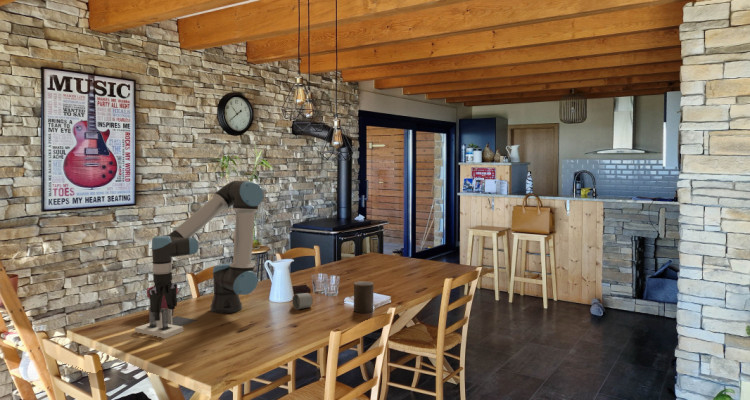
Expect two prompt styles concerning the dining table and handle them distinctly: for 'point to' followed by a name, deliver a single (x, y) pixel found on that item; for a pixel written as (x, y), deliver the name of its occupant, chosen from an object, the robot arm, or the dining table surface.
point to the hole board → (159, 330)
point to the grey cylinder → (302, 300)
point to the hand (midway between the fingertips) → (164, 325)
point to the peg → (164, 319)
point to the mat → (181, 321)
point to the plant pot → (164, 304)
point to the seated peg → (152, 319)
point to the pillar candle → (363, 297)
